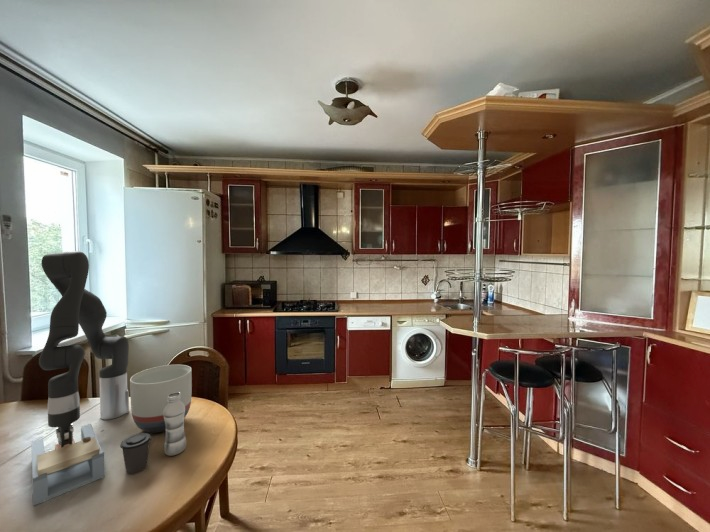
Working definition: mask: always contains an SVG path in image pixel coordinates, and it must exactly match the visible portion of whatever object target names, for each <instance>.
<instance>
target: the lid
mask: <svg viewBox="0 0 710 532" xmlns="http://www.w3.org/2000/svg"><path fill="white" fill-rule="evenodd" d="M97 454H100V451H99V447H98V444H97V442H96V439H95V437H92V438H91V437H86V438H84V439H83V441H81V440H80V441H78V442H75V443H74V444H71V445H68V446H65V447H62V448H59V449H56V450H55V449H53V450H51V451H47V452H45V453H43V454H40V455H37V470H38V476H39V475H42V474H45V473H47V475H48V474H50V473H53V472H56V471H59V470H61V469H64V468H67V467H69V466H72V465H75V464H78V463H80V462H83V461H86V460H88V459H91V458H92V456H94V455H97Z"/></svg>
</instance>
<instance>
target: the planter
mask: <svg viewBox="0 0 710 532" xmlns="http://www.w3.org/2000/svg"><path fill="white" fill-rule="evenodd" d="M192 376H193V375H192V367H191V366H189V365H186V364H166V365H160V366H155V367H151V368H147V369H143V370H142V371H139V372H137V373H135V374H133V375H132V376H131V377H130V379H129V392H130V394H129V395H130V396H129V398H130V408H131V409H130V410H131V415H132V420H133V422H134V424H135V425H136V427H137V428H139V429H140V430H142V431H144V432H145V433H154V434H157V433H162V432H163V433H164V432H166V428H165V421H164V416H163V412H164V409H165V407H166V406H167V404H168V403H169V402H168V395H169V394H172V393H176V392H179V393H180V397H181V399H180V401H181V402H182V403H183V404H184V406H185V415H184V419H185V418H186V416H187V415H188V413H189V411H190V408H191V403H192V387H193V383H192V380H193V377H192Z"/></svg>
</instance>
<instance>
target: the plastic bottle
mask: <svg viewBox="0 0 710 532" xmlns="http://www.w3.org/2000/svg"><path fill="white" fill-rule="evenodd" d="M180 399H181V397H180V393H179V392H176V393H172V394H169V395H168V402H169V403H168V404H167V406H166V407H165V409H164V412H163V416H164V421H165V428H166V431H165V440H164V447H163V449H164V454H165V455H167V456H170V457H171V456H172V457H173V456H177V455H179V454H181V453H183V452H184V450H185V449H186V447H187V437H186V434H185V427H184V426H185V424H184V423H185V418H184V415H185V406H184V404H183V403H182V402H181V401H180Z"/></svg>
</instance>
